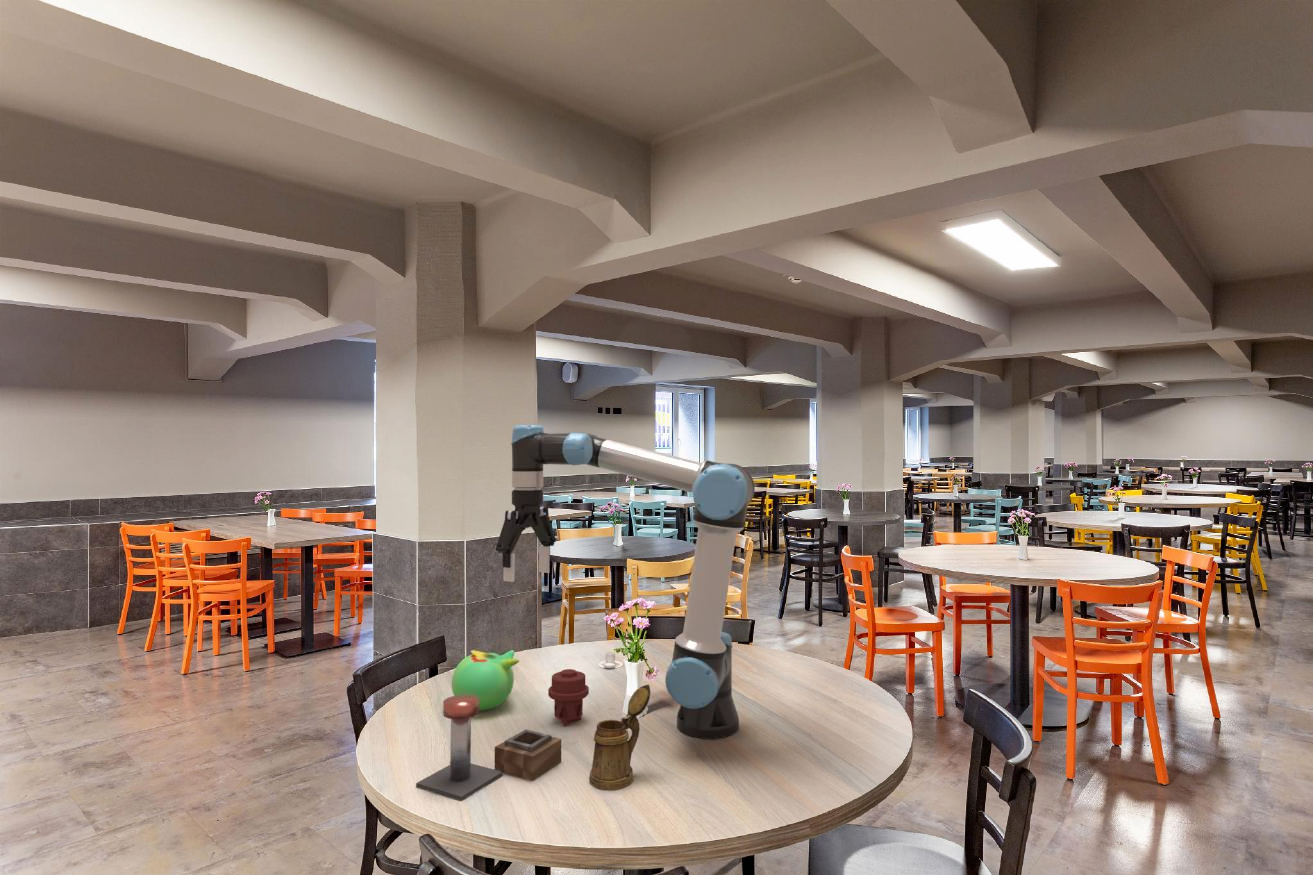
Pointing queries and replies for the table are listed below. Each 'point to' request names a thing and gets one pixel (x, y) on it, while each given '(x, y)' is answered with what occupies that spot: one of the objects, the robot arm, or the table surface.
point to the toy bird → (485, 677)
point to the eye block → (528, 754)
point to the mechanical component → (568, 695)
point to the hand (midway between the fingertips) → (527, 576)
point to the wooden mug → (617, 745)
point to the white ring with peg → (610, 661)
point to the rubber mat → (461, 789)
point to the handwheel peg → (460, 733)
